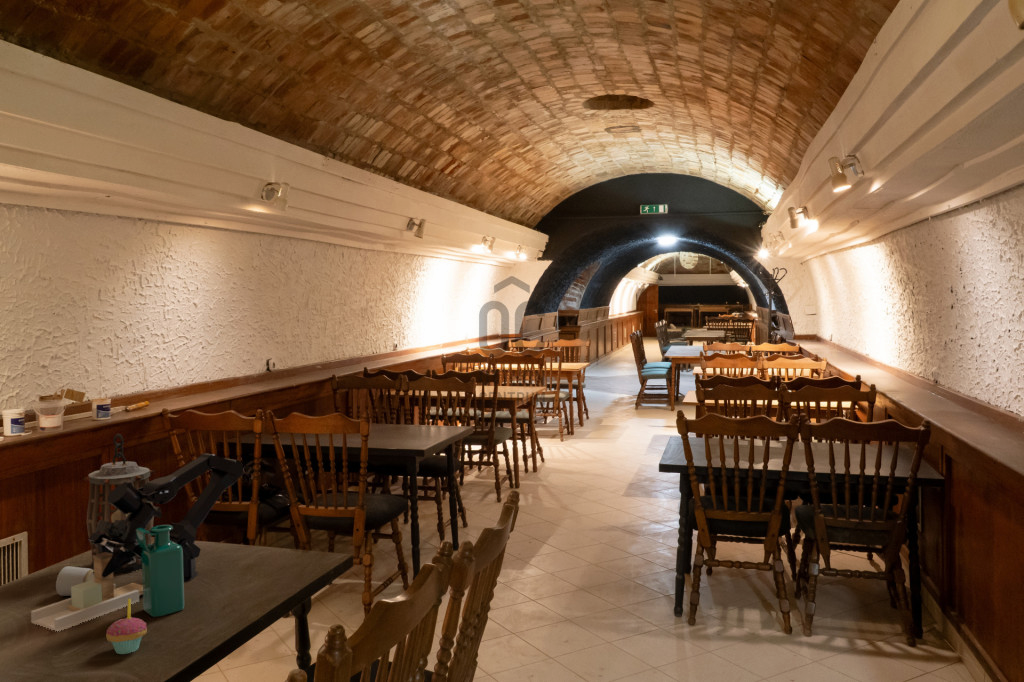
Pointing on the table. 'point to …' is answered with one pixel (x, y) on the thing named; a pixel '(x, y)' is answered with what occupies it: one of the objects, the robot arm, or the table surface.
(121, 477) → the lantern
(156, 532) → the green bottle
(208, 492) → the robot arm
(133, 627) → the cupcake
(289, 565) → the table surface
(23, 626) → the table surface
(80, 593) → the block
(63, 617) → the lane board
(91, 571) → the ceramic mug
